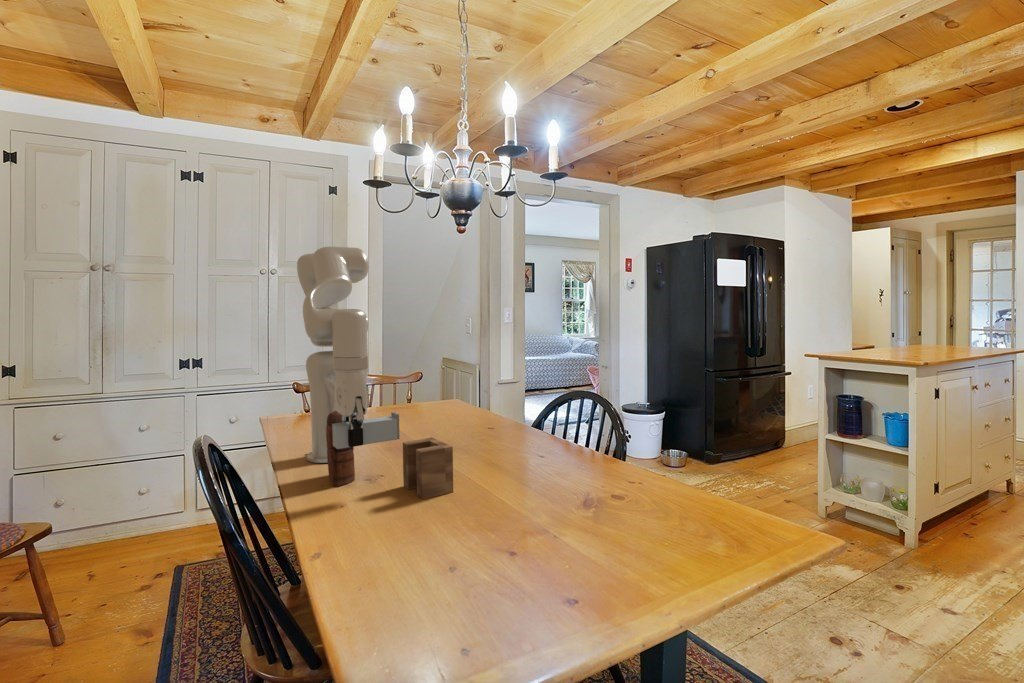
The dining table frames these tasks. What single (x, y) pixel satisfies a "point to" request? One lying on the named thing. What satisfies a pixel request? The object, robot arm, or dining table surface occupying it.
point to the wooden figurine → (338, 456)
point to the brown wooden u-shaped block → (428, 467)
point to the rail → (368, 431)
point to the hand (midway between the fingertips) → (352, 443)
